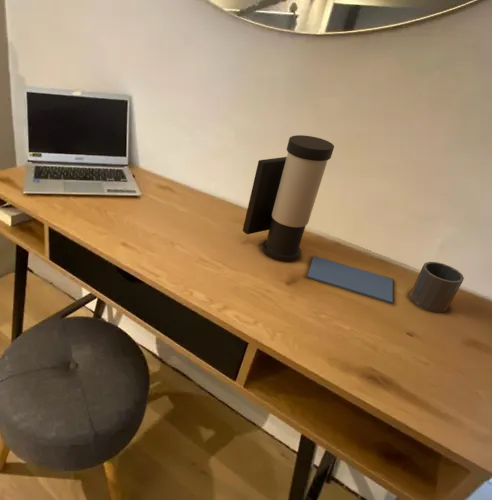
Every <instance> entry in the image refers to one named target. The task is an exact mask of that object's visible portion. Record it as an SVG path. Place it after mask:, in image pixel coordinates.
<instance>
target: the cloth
mask: <svg viewBox="0 0 492 500" xmlns="http://www.w3.org/2000/svg"><path fill="white" fill-rule="evenodd" d="M307 278H308V279H311V280H315V281H318V282H319V283H320V282H321V283H324V284H328V285H331V286H333V287H336V288H341V289H344V290H346V291H349V292H353V293H357V294H360V295H363V296H367V297H369V298H372V299H376V300H380V301H382V302H386V303H389V304H392V303H393V302H394V294H393V293H394V292H393V291H394V284H393V283H394V279H393V278H391V277H388V276H384V275H381V274H378V273H375V272H370V271H367V270H363V269H360V268H356V267H354V266H350V265H346V264H343V263H339V262H336V261H332V260H329V259H325V258H322V257H320V256H315V255H313V256H312V259H311V263H310V268H309V271H308V273H307Z"/></svg>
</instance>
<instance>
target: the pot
mask: <svg viewBox="0 0 492 500" xmlns="http://www.w3.org/2000/svg"><path fill="white" fill-rule="evenodd" d="M464 280H465V277H464V275H463V274H462V273H461V272H460V271H459V269H456V268H454V267H453V266H451V265H447V264H446V263H441V262H439V261H438V262H437V261H428V262H424V264H423V265H422V267H421V270H420V272H419V273H418V275H417V278H416V279H415V282H414V284H413V285H412V288H411V290H410V292H409V299H410V301H412V303H414V304H415V305H416V306H417V307H420V308H421V309H424V310H426V311H429V312H433V313H444V312H447V311H448V309H449V307H450V305H451V304H452V303H453V300H454V298H455V296H456V294H457V293H458V291H459V290H460V287H461V286H462V284H463V282H464Z"/></svg>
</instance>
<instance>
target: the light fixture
mask: <svg viewBox="0 0 492 500" xmlns="http://www.w3.org/2000/svg"><path fill="white" fill-rule="evenodd" d="M334 148H335V145H334V144H333V143H332V142H330V141H329V140H326V139H324V138H321V137H317V136H311V135H304V134H303V135H302V134H301V135H300V134H299V135H298V134H297V135H292V136H290V137H289V138H288V142H287V145H286V152H287V154H286V156H282V157H274V158H267V159H259V160H258V162H257V166H256V170H255V175H254V179H253V184H252V187H251V191H250V196H249V200H248V205H247V209H246V214H245V217H244V223H243V226H242V232H243V233H245V234H246V235H251V234H256V233H260V232H261V233H262V232H266V231H268V232H267V236H266V238H265V239H264V240H263V241H262V242H261V243H262V244H261V251H262V252H263V254H264V255H265V256H266V257H268V258H271V259H272V260H275V261H279V262H283V263H285V262H286V263H290V262H295V261H297V260H299V259H300V256H301V253H302V249H301V247H300V245H301V243H302V238H303V236H304V233H305V229H306V226H307V225H308V224H309V222H310V219H311V216H312V212H313V209H314V205H315V203H316V199H317V196H318V192H319V190H320V186H321V183H322V180H323V176H324V174H325V170H326V167H327V164H328V161H329V160H330V159H331V158H332V156H333V152H334Z"/></svg>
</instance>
